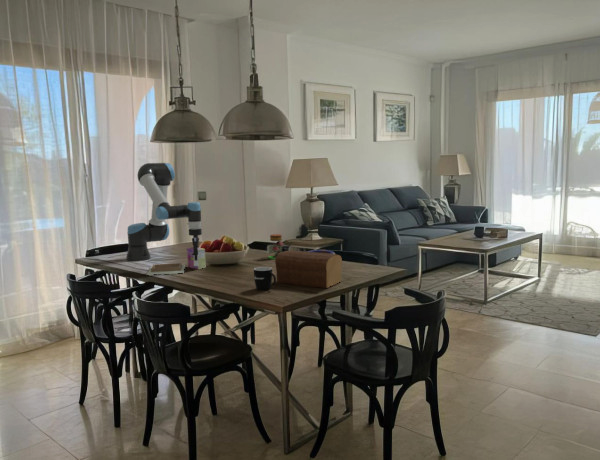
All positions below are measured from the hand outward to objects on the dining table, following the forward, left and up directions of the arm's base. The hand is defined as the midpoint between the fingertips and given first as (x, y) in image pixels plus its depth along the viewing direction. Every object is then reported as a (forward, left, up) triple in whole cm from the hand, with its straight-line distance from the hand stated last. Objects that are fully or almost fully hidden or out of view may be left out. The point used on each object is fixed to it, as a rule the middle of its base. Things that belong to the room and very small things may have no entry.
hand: (196, 263), depth 311 cm
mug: (+64, +35, -3) cm, 73 cm away
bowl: (+22, +71, -3) cm, 74 cm away
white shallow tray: (+5, -17, -2) cm, 18 cm away
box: (0, 0, -3) cm, 3 cm away
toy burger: (-21, +51, -3) cm, 55 cm away
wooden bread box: (+54, +58, -3) cm, 80 cm away
